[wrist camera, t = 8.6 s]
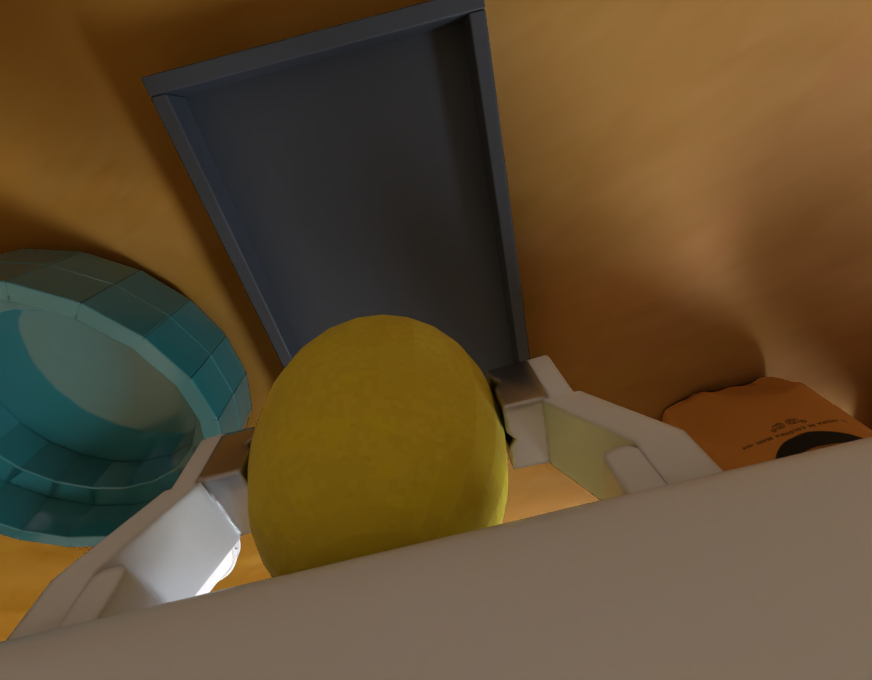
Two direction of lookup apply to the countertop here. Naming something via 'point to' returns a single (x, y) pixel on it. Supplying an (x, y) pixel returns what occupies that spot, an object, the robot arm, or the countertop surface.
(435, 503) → the lemon
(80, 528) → the bowl
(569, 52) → the countertop surface
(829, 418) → the coffee package
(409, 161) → the tray
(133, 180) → the countertop surface
